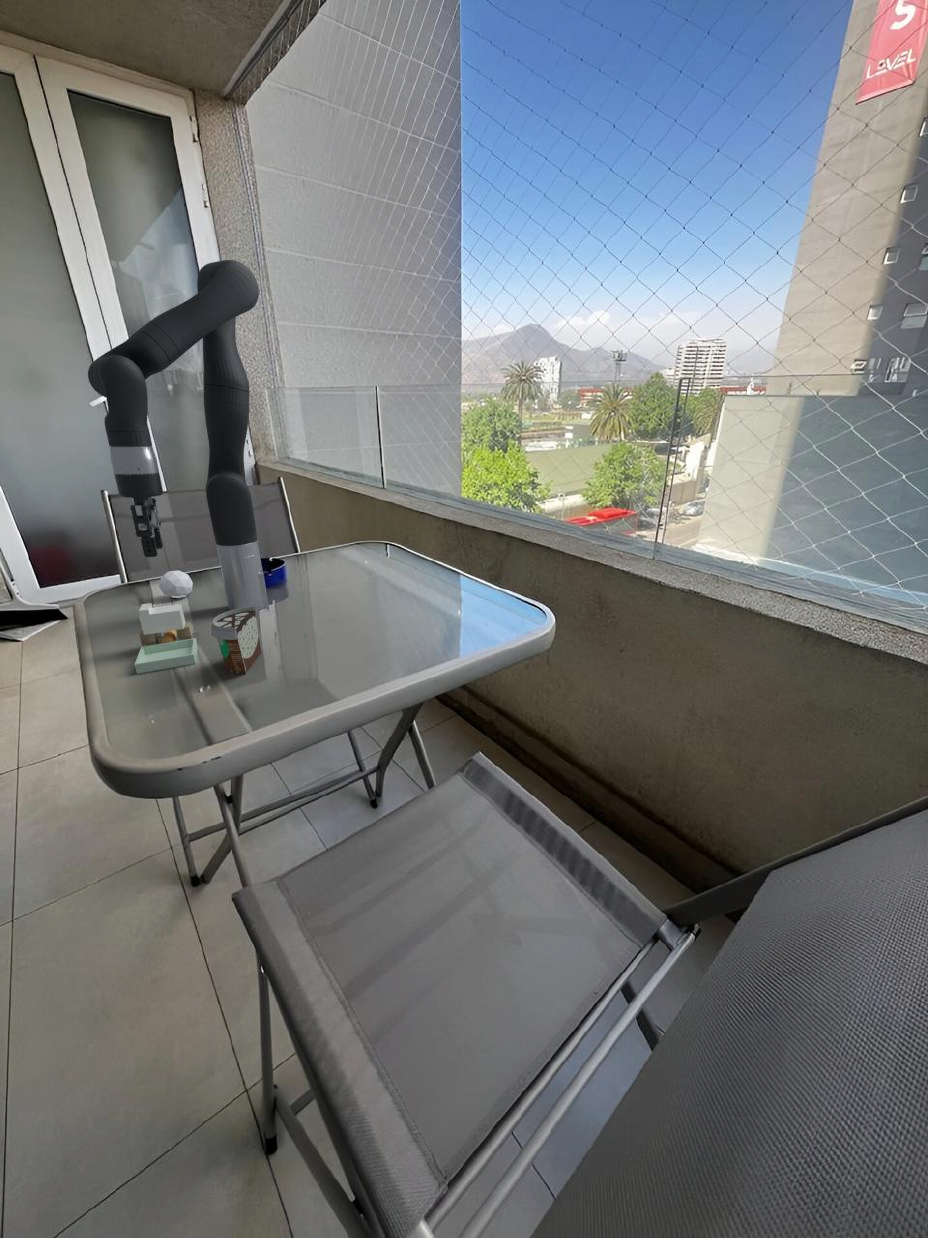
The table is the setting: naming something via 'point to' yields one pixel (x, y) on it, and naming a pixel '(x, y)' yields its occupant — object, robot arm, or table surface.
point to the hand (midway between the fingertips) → (154, 552)
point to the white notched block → (161, 618)
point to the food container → (238, 638)
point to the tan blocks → (153, 639)
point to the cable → (169, 636)
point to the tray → (166, 655)
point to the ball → (176, 583)
